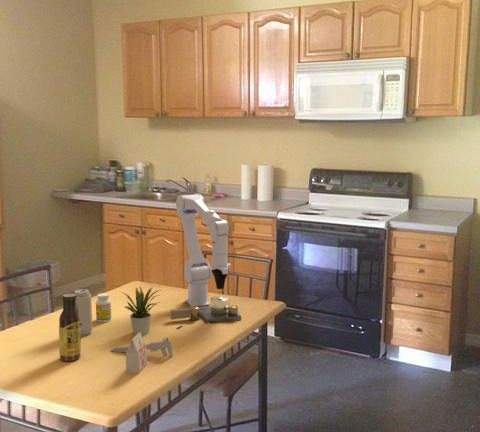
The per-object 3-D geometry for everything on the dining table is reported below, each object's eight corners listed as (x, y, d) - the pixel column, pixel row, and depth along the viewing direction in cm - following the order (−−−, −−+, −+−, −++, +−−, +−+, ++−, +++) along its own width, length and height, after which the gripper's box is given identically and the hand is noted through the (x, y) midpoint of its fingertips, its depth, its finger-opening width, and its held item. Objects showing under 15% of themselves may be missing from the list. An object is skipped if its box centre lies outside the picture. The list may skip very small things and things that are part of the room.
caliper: (172, 356, 179) (172, 337, 178) (171, 358, 177) (171, 338, 177) (111, 351, 183) (110, 332, 182) (109, 352, 182) (109, 333, 181)
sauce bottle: (69, 364, 172) (66, 299, 169) (55, 359, 175) (52, 296, 172) (86, 356, 178) (83, 294, 175) (72, 352, 181) (69, 291, 178)
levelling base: (167, 314, 218) (166, 296, 217) (229, 308, 226) (229, 291, 225) (176, 329, 202) (176, 310, 201) (243, 321, 210) (243, 303, 209)
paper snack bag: (126, 373, 166) (125, 339, 165) (134, 363, 173) (134, 331, 171) (138, 374, 165) (137, 340, 164) (146, 364, 172) (145, 332, 170)
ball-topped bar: (198, 316, 215) (198, 305, 215) (200, 319, 212) (200, 308, 211) (169, 319, 212) (169, 308, 211) (171, 322, 209) (171, 311, 208)
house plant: (173, 332, 199) (172, 286, 196) (141, 343, 189) (140, 295, 186) (147, 323, 208) (146, 279, 206) (115, 333, 198) (114, 286, 196)
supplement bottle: (112, 321, 210) (111, 295, 209) (97, 323, 208) (96, 297, 207) (109, 317, 215) (109, 292, 214) (95, 318, 213) (94, 293, 211)
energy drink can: (70, 333, 198) (69, 291, 195) (86, 329, 202) (84, 287, 200) (80, 337, 194) (78, 294, 191) (95, 333, 198) (94, 290, 196)
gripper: (236, 256, 208) (236, 292, 210) (224, 248, 222) (224, 282, 224) (217, 257, 206) (217, 294, 208) (206, 249, 219) (207, 284, 221)
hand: (220, 288), depth 216 cm, fingers closed
